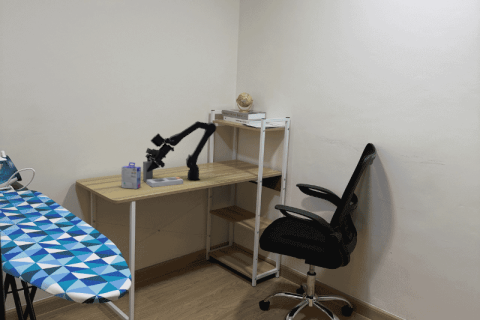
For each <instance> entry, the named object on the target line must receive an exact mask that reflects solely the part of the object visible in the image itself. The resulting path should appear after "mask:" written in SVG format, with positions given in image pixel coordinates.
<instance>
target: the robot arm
mask: <svg viewBox="0 0 480 320" xmlns="http://www.w3.org/2000/svg"><path fill="white" fill-rule="evenodd" d="M198 129H202V130H204V131H203V134H202V136H201V138H200V140H199V142H198V144H197V145H196V147H195V148H194V151H193V152H192V153H191V154H188V155H187V158H186V159H185V165H186V168H188V170H187V178H186V179H187V180H189V181H193V182H195V181H199V180H201V178H200V168H199V166H198V164H197V162H198V158H199V156H200V155H201V152H202V150H203V149H204V148H205V146H206V143H207V142H208V140H209V138H210V137H211V136H213V134H214V133H215V132H216V130H217V125H216V124H215V123H213V122H210V121H209V122H203V121H198V120H197V121H195V122H194V123H193V124H191V125H189V126H187V128H185V129H184V130H182V131H180V132H178V133H176V134H173V135H170V137H167V138H166V137H165V138H164V137H163V136H161V134H160V133H157V134H155V135H154V136H153V137H152V138H151V139H150V142H151V143H152V144H153V145H154V146H155V147H156V148H158V147H159V148H158V149H156V148H152V149H151V148H149V147H147V149H146V151H145V153H146V155H145V158H146V160H147V161H151V162H152V164H151V165H150V167H149V168H148V170H147V172H149V171H152V170H153V171H155V170H156V169H159V168H162V169H163V168H164V167H165V166H166V163H165V162H164V161H163V159H166V158H167V155H168V154H169V152H175V147H176V146H177V145H178V144H180V143H181V141H183V139H184V138H186V137H188V136H189V135H190V134H192V133H193V132H195V131H197V130H198Z"/></svg>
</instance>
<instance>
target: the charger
mask: <svg viewBox="0 0 480 320" xmlns="http://www.w3.org/2000/svg"><path fill="white" fill-rule="evenodd" d="M151 164H152V162H151V161H142V176H143V177H142V180H143V182H145V183H147V180H148V179H154V175H153V173H154V170H152V171H149V172H147V170H148V168H149V167H150V165H151Z"/></svg>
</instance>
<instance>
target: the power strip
mask: <svg viewBox="0 0 480 320" xmlns="http://www.w3.org/2000/svg"><path fill="white" fill-rule="evenodd" d="M146 184H147V185H148V186H150V187H151V188H157V187H165V186H175V185H176V186H177V185H183V184H184V179H182V178H181V177H180V176H172V177H159V178H153V179H148V180H147V182H146Z"/></svg>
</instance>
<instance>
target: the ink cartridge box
mask: <svg viewBox="0 0 480 320" xmlns="http://www.w3.org/2000/svg"><path fill="white" fill-rule="evenodd" d="M135 165H136V162H130V161H129V163H128V165H123V166H121V188H123V189H124V188H125V189H135V190H137V189H140V188H141V185H142V184H141V182H142V180H141V178H142V174H141V173H142V172H141V171H142V167H141V166H135Z"/></svg>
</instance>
